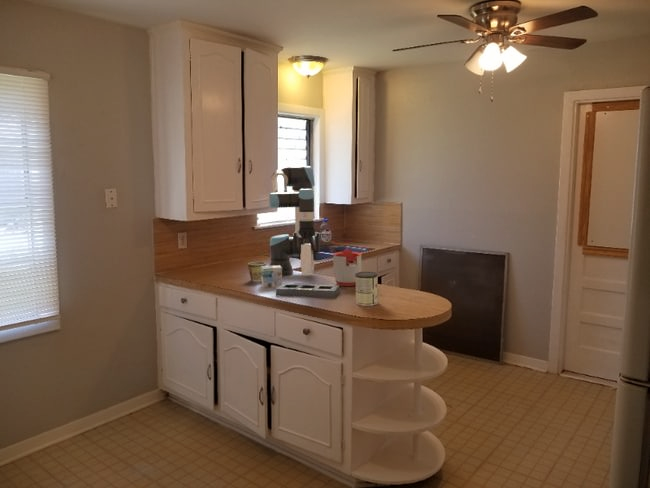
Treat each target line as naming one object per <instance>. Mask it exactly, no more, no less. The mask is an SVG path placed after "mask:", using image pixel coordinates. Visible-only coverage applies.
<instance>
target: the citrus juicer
mask: <svg viewBox="0 0 650 488" xmlns="http://www.w3.org/2000/svg"><path fill="white" fill-rule="evenodd" d="M332 258H333V275H334V279H335V283H336V285H340V287H343V286H345V287H353V286H355V287H356V276H355V274H356V273H358V272H362V252H358V251H351V250H350V249H349V248H345V249H344V250H343V251H338V252H334V253H333V254H332Z"/></svg>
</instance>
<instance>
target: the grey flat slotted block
mask: <svg viewBox="0 0 650 488" xmlns="http://www.w3.org/2000/svg"><path fill="white" fill-rule="evenodd" d="M340 292H341V286H340V285H337V284H317V283H315V284H314V283H313V284H312V283H310V284H309V283H290V282H289V283H286V282H282V285H280V286H279V287H275V296H277V297H279V296H280V297H281V296H282V297H302V298H305V297H307V298H328V299H335V298H336V297H337V296H338V295H339V294H340Z"/></svg>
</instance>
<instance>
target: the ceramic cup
mask: <svg viewBox="0 0 650 488" xmlns="http://www.w3.org/2000/svg"><path fill="white" fill-rule="evenodd" d="M261 266H266V262H264V261H252V262H248V263H247V268H248V272H249V277H250V281H251V282H253V283H257V282H260V283H261Z"/></svg>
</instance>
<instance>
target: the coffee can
mask: <svg viewBox="0 0 650 488" xmlns="http://www.w3.org/2000/svg"><path fill="white" fill-rule="evenodd" d="M378 275H379V274H378V273H377V272H374V271H361V272H358V273H356V274H355V276H356V286H355V304H356V305H357V306H363V307H364V306H365V307H368V306H369V307H370V306H371V307H373V306H376V305H377V304H378Z"/></svg>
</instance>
